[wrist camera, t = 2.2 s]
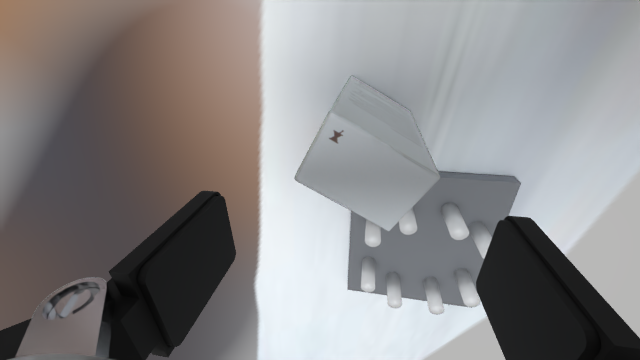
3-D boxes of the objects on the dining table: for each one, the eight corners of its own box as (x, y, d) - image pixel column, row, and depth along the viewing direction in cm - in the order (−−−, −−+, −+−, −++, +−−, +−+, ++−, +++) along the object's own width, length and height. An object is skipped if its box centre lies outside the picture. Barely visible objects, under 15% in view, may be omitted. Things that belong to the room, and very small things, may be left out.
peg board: (354, 166, 25) (350, 190, 21) (514, 176, 23) (543, 206, 19) (348, 281, 33) (344, 315, 29) (468, 298, 31) (482, 338, 27)
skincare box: (326, 117, 24) (288, 179, 13) (351, 73, 22) (329, 106, 11) (383, 151, 24) (389, 235, 14) (413, 111, 22) (446, 175, 12)
